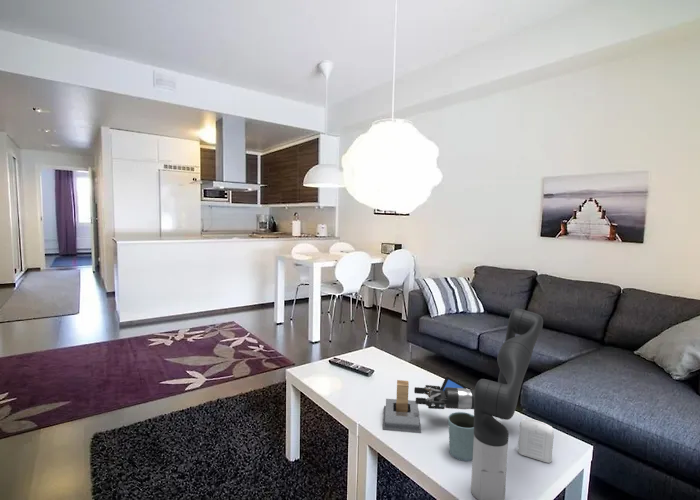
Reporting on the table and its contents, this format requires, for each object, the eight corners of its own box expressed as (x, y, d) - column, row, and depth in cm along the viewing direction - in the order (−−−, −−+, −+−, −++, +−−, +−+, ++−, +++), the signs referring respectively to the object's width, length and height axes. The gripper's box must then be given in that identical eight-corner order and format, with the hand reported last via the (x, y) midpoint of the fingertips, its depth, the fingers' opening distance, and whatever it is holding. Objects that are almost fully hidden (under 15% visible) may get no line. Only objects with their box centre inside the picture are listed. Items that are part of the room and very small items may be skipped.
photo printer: (551, 457, 125) (554, 422, 124) (551, 465, 121) (554, 428, 120) (518, 448, 130) (520, 414, 129) (517, 454, 126) (519, 419, 125)
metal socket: (421, 433, 138) (421, 420, 137) (382, 429, 139) (383, 416, 139) (418, 410, 153) (418, 399, 153) (384, 408, 155) (384, 396, 155)
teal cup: (481, 451, 128) (483, 417, 127) (473, 467, 119) (475, 431, 118) (452, 440, 133) (453, 408, 132) (442, 455, 125) (443, 421, 124)
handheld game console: (427, 396, 167) (428, 380, 166) (446, 391, 172) (446, 375, 171) (447, 409, 156) (448, 392, 155) (466, 403, 161) (467, 387, 160)
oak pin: (407, 420, 144) (408, 385, 143) (395, 419, 144) (396, 384, 143) (407, 414, 148) (408, 380, 147) (396, 413, 149) (397, 380, 148)
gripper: (455, 380, 150) (414, 378, 151) (461, 397, 136) (416, 394, 137) (454, 398, 150) (413, 395, 152) (460, 417, 136) (415, 414, 138)
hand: (415, 395), depth 145 cm, fingers open, 8 cm apart
